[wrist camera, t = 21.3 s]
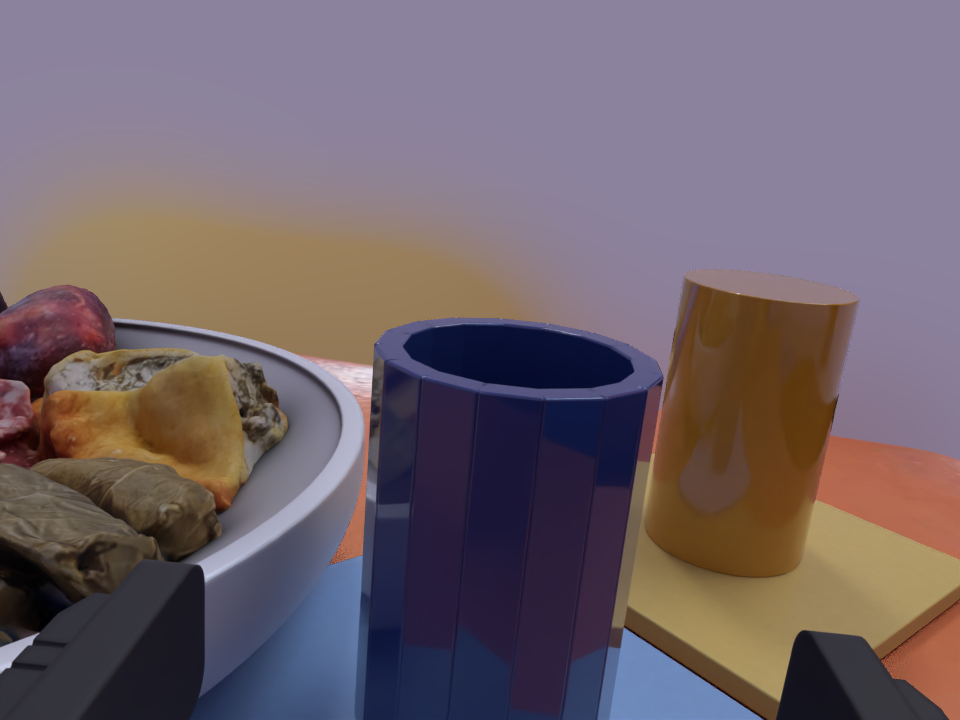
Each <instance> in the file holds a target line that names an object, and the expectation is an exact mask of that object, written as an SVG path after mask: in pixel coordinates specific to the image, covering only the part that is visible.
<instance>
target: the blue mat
mask: <svg viewBox="0 0 960 720" xmlns="http://www.w3.org/2000/svg"><path fill="white" fill-rule="evenodd" d="M362 561H363V555H361V556H358V557H355V558H351V559H348V560H345V561H342V562H338V563H335V564H332V565H329V566H328V567H327V568H326V570H325V571H324V572H323V574H322V575H321V577H320V578H319V580H318V581H317V583H316V584H315V586H314V587H313V588H312V590H311V591H310V593H309V594H308V595H307V596H306V598H305V599H304V600H303V601H302V602H301V604H300V605H299V606H298V607H297V609H296V610H295V611H294V612H293V613H292V614H291V615H290V617H289V618H288V619H287V620H286V621H285V622H284V623H283V624H282V625H281V626H280V627H279V628H278V629H277V630H276V632H275V633H274V634H273V635H272V636H271V637H270V638H269V639H268V640H267V641H266V642H265V643H264V644H263V645H261V646H260V647H259V648H258V649H257V650H256V651H255V652H254V653H253V654H252V655H251V656H250V657H249V658H247V659H246V660H245V661H244V662H243V663H242V664H241V665H239V666H238V667H237V668H236V669H235V670H233V671H232V672H231V673H230V674H229V675H227V676H226V677H225V678H224V679H222V680H221V681H220V682H219V683H218V684H216V685H215V686H214V687H213V688H212V689H210V690H209V691H208V692H206V693H205V694H204V695H202V696H201V697H199V698H198V701H197V704H196V706H195V709H194V711H193V713H192V715H191V717H190V719H189V720H356V718H355V714H354V706H355V688H356V670H357V652H358V634H359V615H360V597H361V579H362ZM609 720H763V719H762V718H760V717H759V716H757V715H756V714H754V713H753V712H751V711H749V710H748V709H746V708H745V707H743V706H742V705H740V704H739V703H737V702H736V701H734V700H733V699H731V698H730V697H728V696H727V695H725V694H724V693H722V692H721V691H719V690H718V689H716V688H715V687H713V686H712V685H710V684H709V683H707V682H706V681H704V680H703V679H701V678H700V677H698V676H697V675H695V674H694V673H692V672H691V671H689V670H687V669H686V668H684V667H683V666H681V665H680V664H678V663H677V662H675V661H674V660H672V659H671V658H669V657H668V656H666V655H665V654H663V653H662V652H660V651H659V650H657V649H656V648H654V647H653V646H651V645H650V644H648V643H647V642H645V641H644V640H642V639H641V638H639V637H638V636H636V635H635V634H633V633H632V632H630V631H628V630H627V629H625V628H624V630H623V636H622V642H621V649H620V655H619V661H618V667H617V674H616V680H615V686H614V693H613V699H612V705H611V711H610V718H609Z"/></svg>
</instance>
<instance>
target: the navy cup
mask: <svg viewBox="0 0 960 720" xmlns="http://www.w3.org/2000/svg"><path fill="white" fill-rule="evenodd" d="M662 384H663V374H662V372H661V370H660V367H659V365H658V363H657V361H655V360H654V359H653V358H651V357H650V356H648V355H646V354H645V353H643V352H641V351H639V350H638V349H636V348H634V347H633V346H630V345H629V344H626V343H623V342H620V341H617V340H614V339H611V338H608V337H605V336H601V335H599V334H596V333H591V332H587V331H582V330H578V329H572V328H568V327H563V326H558V325H552V324H546V323H538V322H529V321H520V320H510V319H499V318H446V319H437V320H426V321H417V322H413V323H409V324H406V325H403V326H399V327H396V328H393V329H390V330H387V331H385V333H384V334H383V335H382V336H381V337H380V338H379V340H378V341H377V342H376V343H375V345H374V361H373V379H372V397H371V415H370V433H369V452H368V470H367V488H366V506H365V524H364V543H363V561H362V579H361V597H360V615H359V634H358V652H357V670H356V688H355V706H354V714H355V718H356V720H609V718H610V711H611V705H612V699H613V693H614V686H615V680H616V674H617V667H618V661H619V655H620V649H621V642H622V636H623V630H624V623H625V617H626V611H627V604H628V598H629V592H630V586H631V579H632V573H633V567H634V560H635V554H636V548H637V542H638V535H639V529H640V523H641V516H642V510H643V504H644V497H645V491H646V485H647V479H648V472H649V466H650V460H651V453H652V447H653V441H654V435H655V428H656V422H657V416H658V409H659V403H660V397H661V390H662Z"/></svg>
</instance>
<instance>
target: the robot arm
mask: <svg viewBox="0 0 960 720" xmlns="http://www.w3.org/2000/svg"><path fill="white" fill-rule="evenodd" d="M204 667H205V577H204V572H203V569H202V567H201V566H200V565H197V564H187V563H178V562H168V561H158V560H149V559H144V560H142V561H140V562H139V563H138V564H137V565H136V566H135V567H134V569H133V570H132V571H131V572H130V573H129V574H128V575H127V577H126V578H125V579H124V580H123V581H122V582H121V583H120V585H119V586H118V587H117V588H116V589H115V590H114V591H113V593H112V594H105V593H93V594H92V595H90V596H88V597H86V598H84V599H83V600H81V601H79V602H77V603H76V604H74V605H72V606H70V607H69V608H67V609H65V610H63V611H61V612H60V613H58V614H57V615H56V616H55V617H54V618H53V619H52V620H51V621H50V622H49V624H48V625H47V626H46V627H45V628H44V629H43V630H42V631H41V632H40V633H39V634H38V635H37V636H36V637H35V638H34V639H33V643H32V645H28V646H27V647H26V648H25V649H24V650H23V651H22V652H21V653H20V654H19V655H18V656H17V657H16V658H15V659H14V660H13V661H12V665H11V667H10V668H6V669H5V670H4V671H3V672H2V673H1V674H0V720H189V719H190V717H191V715H192V713H193V711H194V709H195V706H196V704H197V701H198V698H199V694H200V691H201V687H202V682H203V676H204ZM776 720H949V719H948V718H947V716H946V715H945V714H944V712H943V711H942V709H940V708H939V707H938V706H937V705H935V704H934V703H933V702H932V701H930V700H929V699H928V698H927V697H925V696H924V695H923V694H922V693H920V692H919V691H918V690H917V689H915V688H914V687H913V686H912V685H910V684H909V683H908V682H907V681H906V680H901V679H893V678H892V677H891V675H890V674H889V672H888V671H887V669H886V668H885V666H884V665H883V664H882V662H881V661H880V659H879V658H878V656H877V655H876V653H875V652H874V651H873V649H872V648H871V646H870V645H869V643H868V642H867V641H866V640H865V639H864V638H863V637H861V636H857V635H847V634H838V633H828V632H819V631H809V630H802V631H800V632H799V633H798V635H797V636H796V638H795V640H794V643H793V647H792V651H791V656H790V660H789V664H788V669H787V673H786V677H785V682H784V686H783V690H782V695H781V699H780V703H779V708H778V712H777V717H776Z"/></svg>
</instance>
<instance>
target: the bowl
mask: <svg viewBox="0 0 960 720" xmlns="http://www.w3.org/2000/svg"><path fill="white" fill-rule="evenodd" d="M364 451H365V425H364V417H363V414H362V411H361V408H360V406H359V404H358V402H357V400H356V398H355V397H354V395H353V394H352V393H351V391H350V390H349V389H348V388H347V387H346V386H345V385H344V384H343V383H342V382H341V381H340V380H339V379H337V378H336V377H335V376H334V375H332V374H331V373H330V372H328V371H327V370H325V369H324V368H322V367H320V366H318V365H317V364H315V363H313V362H311V361H309V360H307V359H305V358H303V357H301V356H298V355H296V354H293V353H291V352H288V351H286V350H283V349H280V348H277V347H274V346H271V345H268V344H265V343H262V342H258V341H254V340H251V339H247V338H243V337H239V336H235V335H231V334H226V333H221V332H216V331H211V330H205V329H200V328H194V327H187V326H181V325H173V324H166V323H157V322H148V321H140V320H129V319H117V318H111V316H110V315H109V313H108V310H107V308H106V307H105V306H104V304H103V303H102V302H101V301H100V300H99V299H98V297H97V296H96V295H95V294H94V293H92V292H90V291H87V289H81V288H78V287H75V286H71V285H60V286H54V287H51V288H47V289H43V290H40V291H37V292H34V293H33V294H30V295H28V296H27V297H25V298H23V299H22V300H20V301H19V302H17V303H16V304H14V305H12V306H10V307H9V308H8V307H7V305H6V303H5V301H4V299H3V296H2V294H1V293H0V674H1V673H2V672H3V671H4V670H5V669H6V668H10V667H11V665H12V661H13V660H14V659H15V658H16V657H17V656H18V655H19V654H20V653H21V652H22V651H23V650H24V649H25V648H26V647H27V646H28V645H32V643H33V639H34V638H35V637H36V636H37V635H38V634H39V633H40V632H41V631H42V630H43V629H44V628H45V627H46V626H47V625H48V624H49V622H50V621H51V620H52V619H53V618H54V617H55V616H56V615H57V614H58V613H60V612H61V611H63V610H65V609H67V608H69V607H70V606H72V605H74V604H76V603H77V602H79V601H81V600H83V599H84V598H86V597H88V596H90V595H92V594H93V593H105V594H112V593H113V591H114V590H115V589H116V588H117V587H118V586H119V585H120V583H121V582H122V581H123V580H124V579H125V578H126V577H127V575H128V574H129V573H130V572H131V571H132V570H133V569H134V567H135V566H136V565H137V564H138V563H139V562H140V561H142V560H144V559H149V560H158V561H168V562H178V563H187V564H197V565H200V566H201V567H202V569H203V572H204V577H205V667H204V676H203V682H202V687H201V691H200V694H199V697H201V696H202V695H204V694H205V693H206V692H208V691H209V690H210V689H212V688H213V687H214V686H215V685H216V684H218V683H219V682H220V681H221V680H222V679H224V678H225V677H226V676H227V675H229V674H230V673H231V672H232V671H233V670H235V669H236V668H237V667H238V666H239V665H241V664H242V663H243V662H244V661H245V660H246V659H247V658H249V657H250V656H251V655H252V654H253V653H254V652H255V651H256V650H257V649H258V648H259V647H260V646H261V645H263V644H264V643H265V642H266V641H267V640H268V639H269V638H270V637H271V636H272V635H273V634H274V633H275V632H276V630H277V629H278V628H279V627H280V626H281V625H282V624H283V623H284V622H285V621H286V620H287V619H288V618H289V617H290V615H291V614H292V613H293V612H294V611H295V610H296V609H297V607H298V606H299V605H300V604H301V602H302V601H303V600H304V599H305V598H306V596H307V595H308V594H309V593H310V591H311V590H312V588H313V587H314V586H315V584H316V583H317V581H318V580H319V578H320V577H321V575H322V574H323V572H324V571H325V570H326V568H327V567H328V565H329V563H330V562H331V560H332V558H333V556H334V554H335V552H336V551H337V549H338V547H339V545H340V543H341V541H342V539H343V538H344V535H345V533H346V530H347V528H348V526H349V523H350V520H351V518H352V515H353V513H354V510H355V506H356V503H357V500H358V495H359V491H360V487H361V482H362V476H363V465H364Z"/></svg>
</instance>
